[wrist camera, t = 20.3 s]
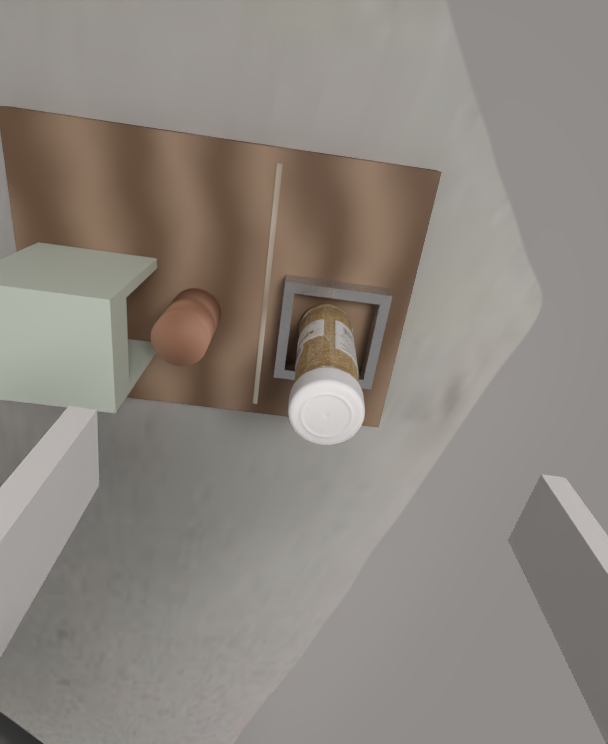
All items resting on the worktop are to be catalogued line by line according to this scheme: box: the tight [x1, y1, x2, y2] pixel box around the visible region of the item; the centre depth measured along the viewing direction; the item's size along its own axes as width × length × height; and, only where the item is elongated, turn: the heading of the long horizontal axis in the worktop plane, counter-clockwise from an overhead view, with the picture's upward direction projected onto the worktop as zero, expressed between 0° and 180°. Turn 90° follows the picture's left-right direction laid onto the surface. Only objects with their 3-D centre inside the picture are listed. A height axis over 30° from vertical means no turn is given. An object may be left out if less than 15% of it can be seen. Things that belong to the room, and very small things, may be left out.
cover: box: [0, 242, 157, 413], centre depth 35 cm, size 9×8×10 cm
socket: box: [274, 274, 392, 389], centre depth 39 cm, size 8×8×2 cm
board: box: [0, 106, 441, 427], centre depth 37 cm, size 31×22×8 cm
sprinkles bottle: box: [288, 304, 365, 445], centre depth 34 cm, size 5×5×13 cm
